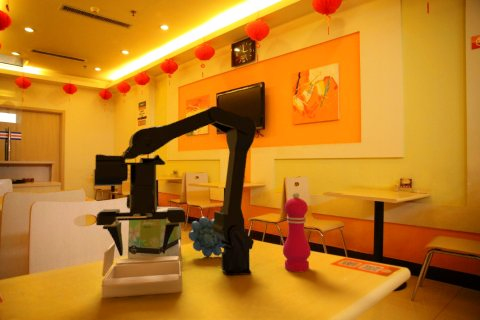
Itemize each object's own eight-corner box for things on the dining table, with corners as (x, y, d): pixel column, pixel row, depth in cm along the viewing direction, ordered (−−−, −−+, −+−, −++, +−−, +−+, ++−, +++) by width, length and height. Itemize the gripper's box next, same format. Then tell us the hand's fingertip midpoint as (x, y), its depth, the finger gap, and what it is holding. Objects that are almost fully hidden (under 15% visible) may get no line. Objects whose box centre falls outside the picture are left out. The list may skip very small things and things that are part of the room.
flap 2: (180, 259, 79) (181, 258, 79) (180, 271, 69) (182, 271, 69) (178, 239, 79) (180, 239, 79) (178, 249, 69) (180, 248, 69)
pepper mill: (279, 270, 82) (279, 192, 83) (286, 263, 89) (285, 191, 90) (308, 273, 80) (307, 193, 80) (312, 265, 86) (312, 191, 87)
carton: (181, 270, 83) (181, 255, 83) (182, 298, 65) (182, 279, 65) (115, 275, 80) (115, 259, 80) (97, 305, 62) (97, 285, 62)
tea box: (160, 267, 86) (160, 212, 86) (126, 265, 88) (127, 211, 88) (182, 253, 100) (182, 206, 101) (152, 251, 102) (152, 205, 103)
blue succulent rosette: (187, 261, 91) (187, 219, 92) (189, 255, 98) (189, 215, 98) (227, 260, 92) (227, 218, 92) (227, 254, 99) (227, 215, 99)
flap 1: (115, 242, 76) (113, 242, 76) (106, 252, 66) (104, 252, 66) (113, 263, 76) (111, 263, 75) (104, 276, 66) (102, 276, 66)
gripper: (184, 183, 82) (184, 244, 82) (107, 184, 79) (106, 247, 78) (185, 185, 72) (185, 255, 71) (96, 186, 68) (95, 260, 67)
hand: (142, 254), depth 72 cm, fingers open, 9 cm apart
